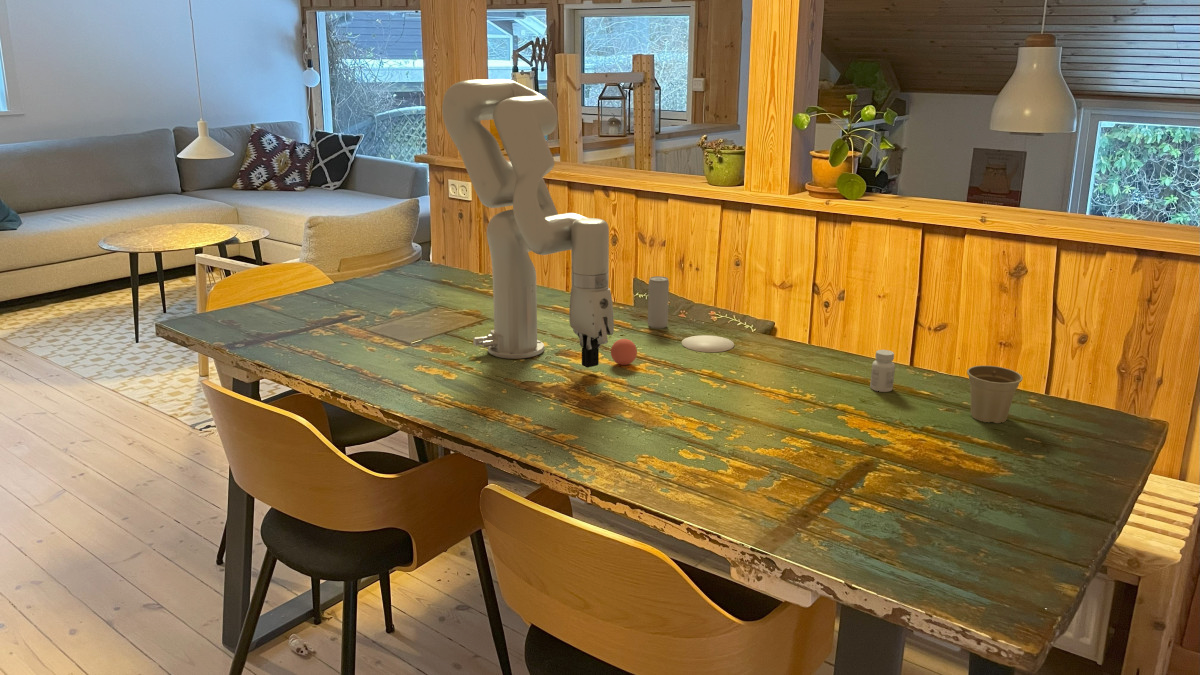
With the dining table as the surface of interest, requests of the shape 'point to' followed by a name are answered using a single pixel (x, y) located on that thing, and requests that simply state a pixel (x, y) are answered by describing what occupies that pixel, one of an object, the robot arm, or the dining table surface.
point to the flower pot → (992, 392)
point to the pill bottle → (883, 371)
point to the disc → (707, 343)
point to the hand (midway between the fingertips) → (590, 365)
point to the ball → (623, 351)
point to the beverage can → (658, 302)
